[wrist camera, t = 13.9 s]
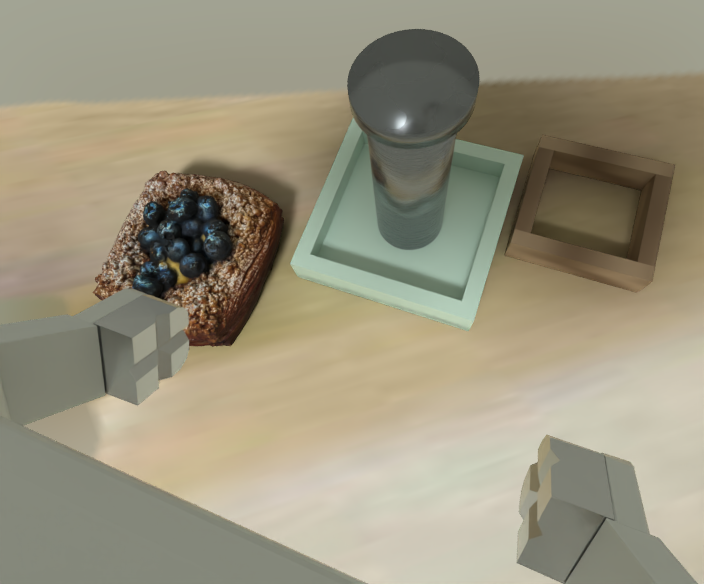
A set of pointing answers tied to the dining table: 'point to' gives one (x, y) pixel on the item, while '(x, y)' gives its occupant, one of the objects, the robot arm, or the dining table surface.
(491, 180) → the tray
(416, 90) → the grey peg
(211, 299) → the pastry
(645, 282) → the socket block
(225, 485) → the dining table surface
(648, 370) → the dining table surface
